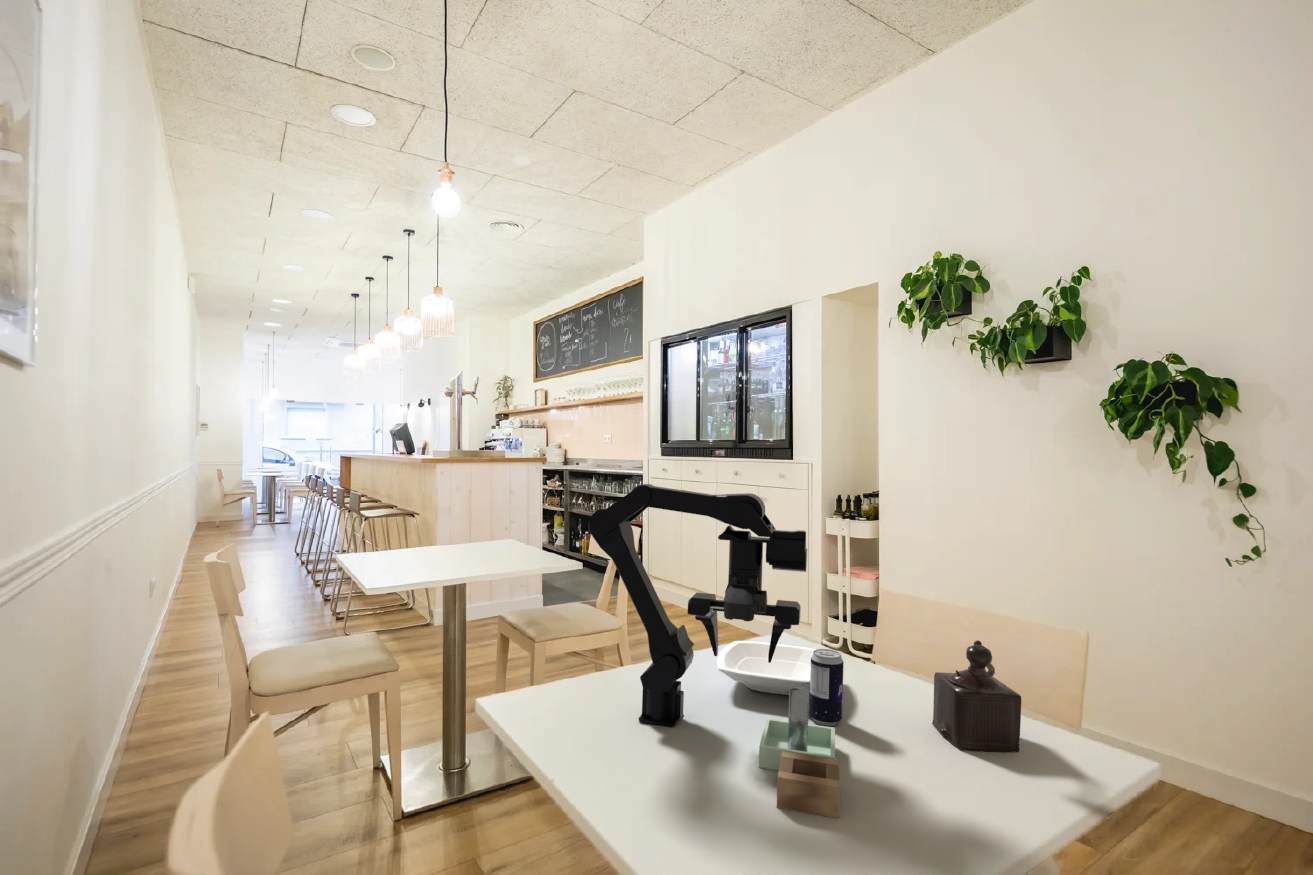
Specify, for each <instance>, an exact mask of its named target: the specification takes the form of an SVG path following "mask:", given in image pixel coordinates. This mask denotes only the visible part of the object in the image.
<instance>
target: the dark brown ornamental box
mask: <svg viewBox="0 0 1313 875" xmlns="http://www.w3.org/2000/svg"><path fill="white" fill-rule="evenodd" d="M982 644H983V643H982V641H981V640H978V639H977V640H975V641H973V645H970V646H967V647H966V653H965V656H966V657H965V658H966V659H967V660H968V662H969V666H968V667H967V669H964V670H960V671H958V670H957V669H955V673H954V672H939V671H938V672H937V671H936V672H934V676H933V678H934V679H933V715H932V723H931V725H932V726H933V727H934V728H935V729H936V730H937V731H938V733H940V735H941V736H942V737H943V738H944V739H945V740H947V741H948V742H949V743H950V744H951V745H953V746H954V747H956V748H958V749H960V750H964V751H971V752H988V753H990V752H991V753H1019V752H1020V741H1021V740H1020V738H1021V719H1022V718H1021V717H1022V696H1021V695H1020V694H1019V693H1017V692H1016V691H1015V690H1013V689H1012V688H1011V687H1009V686H1007V685H1006V684H1004V683H1003V682H1001V681H1000V680H999V679H997V678H995V677H994V676H995V674H996V670H995V666H994V665H993V664H992V662H993V655H992V651H991V650H990V649H989V648H987V647H985V646H984V645H982ZM986 668H987V670H986Z"/></svg>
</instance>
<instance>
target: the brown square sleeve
mask: <svg viewBox="0 0 1313 875" xmlns="http://www.w3.org/2000/svg"><path fill="white" fill-rule="evenodd" d="M777 773H778V774H777V779H776V780H777V783H776V787H777V788H776V808H777V809H783V810H784V809H785V810H790V811H794V812H795V811H796V812H800V813H807V814H813V815H819V816H824V817H830V818H835V819H839V818H840V791H841V790H840V789H841V785H840V782H841V781H840V780H841V779H840V777H841V776H840V760H839V759H837V758H835V759H830V758H824V757H817V756H811V755H804V754H797V753H791V752H784V751H782V754H781V760H780V766H779V770H778V772H777Z"/></svg>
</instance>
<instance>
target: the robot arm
mask: <svg viewBox="0 0 1313 875" xmlns="http://www.w3.org/2000/svg"><path fill="white" fill-rule="evenodd" d="M765 505H766V504H765V502H764V501H763V499H762V498H761V497H760V496H758V495H757V494H754V493H725V494H710V493H704V492H696V491H690V490H684V489H683V490H682V489H676V488H669V487H663V486H658V485H657V486H655V485H654V484H653V485H652V484H650V483H644V484H639V485H638V484H637V485H636V486H635V487H634V488H633V489H632V490H631V491H630V492H628V493H627V494H625V495H624V496H623V497H621V498H620V499H618V500H617V501H616V502H614V503H613V504H610V506H609V507H605V508H604V507H603V508H601V509H598V510H596V511H594V512H593V513H592V514H591V516H590V518H589V520H588V523H587V526H588V527H587V528H588V531H589V533H590V534H591V537H592V538H593V539H594V541H595V543H597V545H598V546H599V548H600V549H601V550H602V551H603V552H604V553H605V554H606V555H607V556H608V557H610V559H611V561H613V564H614V566H615V568H616V570H617V571H618V574H619V576H620V579H621V580H622V582H623V585H624V587H625V589H626V591H627V593H628V595H629V597H630V599H631V601H632V604H633V605H634V608H635V610H636V612H637V614H638V616H639V619H640V620H641V622H642V625H643V627H644V629H645V631H646V634H647V641H648V642H647V643H648V650H649V654H650V658H651V662H652V663H650V665H649V666H648V667H647V668H646V670H645V671H644V672H642V674H641V675H640V677H639V678H640V682H641V686H642V697H641V698H642V700H641V701H642V702H641V703H642V704H641V714H640V716H639V717H638V722H639V723H640V722H641V723H646V724H652V725H653V724H654V725H660V726H665V727H666V726H667V727H676V725H677V724H678V722H679V721H680V719H681V718H682V717H683V715H684V701H685V700H684V698H685V691H683V690H682V681H680V680H679V679H681V678H682V677H683V675H684V674H685V673H686V671H687V670H688V669H689V667H690V666H691V664H692V662H693V660H694V655H695V654H694V650H693V647H694V646H695V643H694V642H693V641H692V640H691V639H690V636H689V635H688V631H687V629H686V625H684V624H682V625H680V626H679V627H677V626H676V625H675V624H674V623H673V622H672V621H671V619H670V618H669V617H668V615H667V612H666V610H665V608H664V606H663V604H662V602H661V600H660V597H659V596H658V594H657V592H656V590H655V588H654V586H653V583H652V581H651V579H650V576H649V575H648V572H647V571H646V568H645V566H644V565H643V562H642V561H641V558H640V556H639V554H638V552H637V550H636V546H635V545H636V544H635V537H634V535H635V534H634V531H633V527H632V523H631V522H633V521H634V520H636V519H637V518H638V517H639V516H640V515H641V514H642V513H643V512H644V511H645V510H647V509H648V508H652V509H660V510H666V511H671V512H672V511H673V512H679V513H686V514H692V515H699V516H703V517H704V516H706V517H709V518H712V519H714V520H717V521H719V522H722V523H724V524H727V526H726V527H725V529H724V531H723V532H721V534H719V535H718V537H717V538H718V540H720V541H729V546H728V547H729V548H728V549H729V552H728V555H729V556H728V574H727V575H728V580H727V585H726V588H725V591H724V597H723V600H722V599H717V596H716V594H715V593H707V592H696V593H695V594H693V595H692V596H691V597H690V598H689V599H688V602H687V614H688V615H691V616H694V618H695V620H697V621H700V622H701V623H702V625H703V626H704V628H705V631H706V633H707V635H708V639H709V642H710V646H711V649H712V652H713V656H714V657H718V656H719V628H718V612H723V617H724V618H725V619H726V620H729V621H733V620H740V621H744V622H751V621H753V620H754V619H755V615H756V616H764V617H765V616H766V617H774V621H773V623H772V629H771V636H770V641H769V643H770V648H769V654H768V662H769V663H771V660H772V657H773V654H774V651H775V648H776V646H777V644H779V640H780V638H781V636H782V634H783V632H784V631H785V630H791V629H792V626H800V620H801V608H802V607H801V605H800V603H799V602H798V601H794V600H783V599H777V600H776V603H775V604H768V591H767V590H762V588H763V587H762V586H763V558H764V557H763V556H764V555H763V552H764V550H763V549H764V544H765V547H766V548H765V562H766V564H768V565H769V566H771V569H772V570H777V571H787V572H788V571H789V572H800V573H801V572H803V573H806V572H807V567H808V565H807V564H808V548H807V531H806V530H799V529H798V530H779V529H776V527H775V526H774V523H773V522H772V521H771V520H770V519H769V517H768V516H767V514H766V506H765ZM733 527H735V528H738V529H741V530H738V529H737V530H735V529H734V528H733ZM751 532H752V533H754V534H755V535H757V536H752V533H751Z"/></svg>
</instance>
